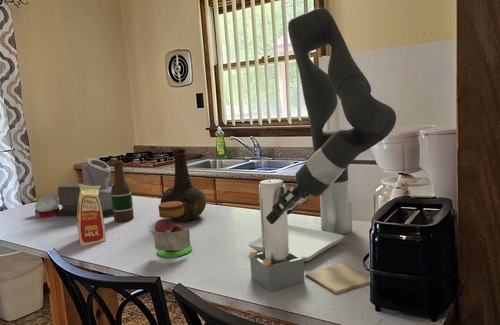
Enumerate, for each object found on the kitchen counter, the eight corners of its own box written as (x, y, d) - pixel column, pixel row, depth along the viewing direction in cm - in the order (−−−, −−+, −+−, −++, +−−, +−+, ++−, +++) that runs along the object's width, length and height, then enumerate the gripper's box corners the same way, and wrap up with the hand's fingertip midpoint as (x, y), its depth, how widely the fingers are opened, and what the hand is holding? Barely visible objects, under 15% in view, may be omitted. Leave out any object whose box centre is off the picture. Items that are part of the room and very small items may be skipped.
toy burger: (152, 248, 134) (147, 202, 132) (192, 243, 137) (188, 197, 135) (152, 261, 123) (147, 211, 121) (195, 255, 125) (191, 206, 123)
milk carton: (81, 246, 141) (73, 187, 138) (78, 239, 149) (71, 183, 146) (109, 240, 145) (102, 183, 142) (105, 233, 153) (98, 179, 150)
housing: (284, 269, 111) (282, 242, 110) (304, 281, 103) (303, 253, 102) (249, 278, 107) (247, 250, 106) (268, 292, 98) (266, 262, 97)
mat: (343, 265, 111) (343, 263, 111) (376, 281, 101) (376, 278, 101) (305, 275, 106) (305, 273, 106) (335, 293, 95) (335, 291, 95)
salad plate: (307, 269, 111) (307, 256, 111) (246, 254, 125) (245, 242, 125) (346, 245, 127) (345, 234, 127) (288, 234, 141) (287, 224, 140)
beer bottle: (110, 222, 169) (103, 162, 165) (122, 216, 176) (116, 159, 172) (125, 223, 166) (119, 162, 162) (138, 217, 173) (132, 159, 169)
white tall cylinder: (289, 285, 101) (283, 183, 97) (262, 285, 102) (256, 183, 99) (291, 274, 107) (287, 177, 104) (266, 274, 109) (261, 178, 105)
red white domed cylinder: (61, 223, 190) (68, 204, 188) (41, 226, 181) (48, 206, 179) (46, 210, 195) (52, 191, 192) (26, 213, 186) (32, 193, 183)
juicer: (132, 208, 189) (126, 154, 186) (111, 219, 174) (105, 160, 170) (75, 208, 197) (69, 156, 194) (51, 217, 182) (43, 161, 179)
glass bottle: (180, 211, 179) (174, 145, 175) (216, 214, 171) (210, 145, 167) (152, 222, 164) (145, 151, 160) (189, 226, 156) (183, 151, 152)
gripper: (320, 154, 101) (280, 198, 109) (295, 164, 89) (252, 212, 97) (342, 177, 99) (300, 220, 107) (320, 190, 87) (274, 237, 95)
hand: (277, 216), depth 102 cm, fingers open, 8 cm apart
